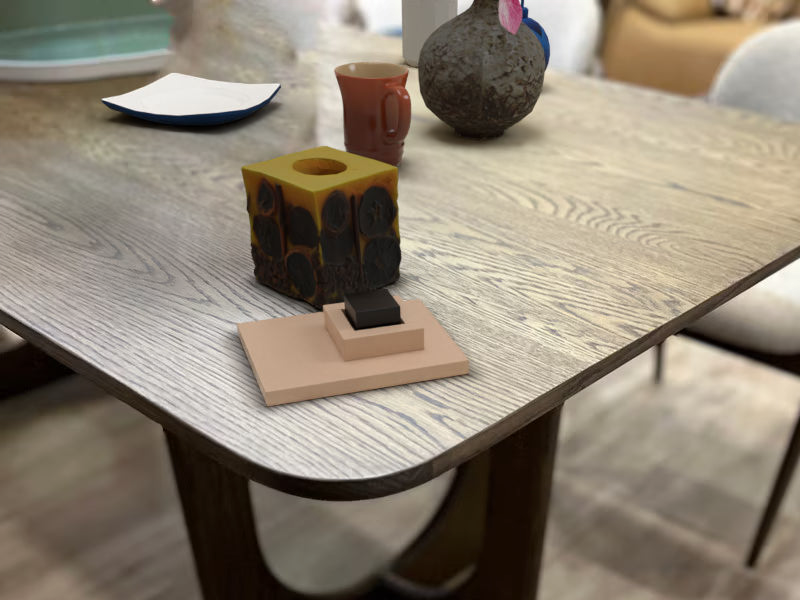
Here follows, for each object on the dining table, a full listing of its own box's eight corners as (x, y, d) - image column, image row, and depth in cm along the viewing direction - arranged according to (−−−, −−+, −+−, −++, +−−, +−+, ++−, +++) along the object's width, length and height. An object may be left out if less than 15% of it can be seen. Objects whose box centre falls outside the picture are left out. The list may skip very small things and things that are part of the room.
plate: (224, 137, 113) (221, 115, 111) (95, 121, 118) (89, 100, 116) (292, 103, 127) (290, 82, 126) (174, 90, 132) (170, 70, 130)
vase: (479, 111, 126) (489, -158, 106) (569, 136, 117) (599, -153, 97) (395, 131, 117) (389, -159, 97) (485, 159, 108) (500, -154, 88)
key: (357, 334, 65) (355, 312, 64) (344, 315, 68) (343, 293, 67) (401, 327, 66) (400, 306, 65) (387, 309, 69) (386, 288, 68)
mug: (327, 160, 106) (320, 66, 99) (386, 150, 110) (383, 59, 103) (376, 186, 99) (373, 87, 92) (437, 175, 103) (438, 78, 96)
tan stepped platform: (267, 406, 62) (261, 369, 60) (238, 336, 70) (233, 302, 68) (468, 373, 66) (470, 337, 64) (419, 311, 74) (419, 278, 72)
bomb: (470, 89, 136) (474, -25, 126) (511, 79, 142) (518, -32, 132) (518, 100, 131) (525, -18, 121) (558, 89, 137) (569, -25, 127)
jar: (407, 70, 146) (405, -62, 133) (398, 58, 153) (395, -68, 140) (462, 68, 147) (465, -62, 135) (450, 57, 154) (453, -68, 142)
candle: (324, 314, 74) (313, 193, 67) (251, 281, 78) (234, 165, 72) (404, 281, 79) (402, 166, 72) (332, 252, 84) (324, 142, 77)
